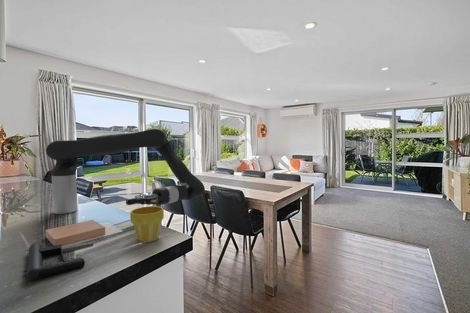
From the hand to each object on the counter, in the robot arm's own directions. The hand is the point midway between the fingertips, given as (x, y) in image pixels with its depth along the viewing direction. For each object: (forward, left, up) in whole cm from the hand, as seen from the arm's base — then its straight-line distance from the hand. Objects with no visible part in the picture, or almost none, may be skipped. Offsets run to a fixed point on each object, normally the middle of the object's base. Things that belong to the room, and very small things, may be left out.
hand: (126, 202), depth 92 cm
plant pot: (+19, -2, -9) cm, 21 cm away
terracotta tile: (0, -10, -7) cm, 12 cm away
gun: (+14, -25, -10) cm, 30 cm away
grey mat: (0, -14, -9) cm, 16 cm away
